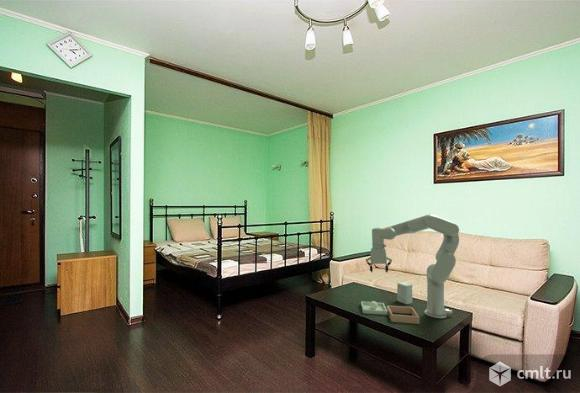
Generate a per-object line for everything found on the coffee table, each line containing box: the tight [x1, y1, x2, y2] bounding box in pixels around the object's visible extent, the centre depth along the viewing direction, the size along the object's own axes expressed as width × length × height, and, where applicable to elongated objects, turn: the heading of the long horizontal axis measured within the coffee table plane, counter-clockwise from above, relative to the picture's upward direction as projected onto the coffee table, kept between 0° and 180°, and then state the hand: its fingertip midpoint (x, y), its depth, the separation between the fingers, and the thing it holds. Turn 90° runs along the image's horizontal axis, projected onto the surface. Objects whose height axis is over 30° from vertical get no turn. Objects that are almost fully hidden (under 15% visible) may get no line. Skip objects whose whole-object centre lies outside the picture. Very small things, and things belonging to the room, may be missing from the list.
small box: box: [396, 281, 413, 305], centre depth 198 cm, size 8×6×13 cm
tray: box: [360, 300, 389, 316], centre depth 183 cm, size 15×15×2 cm
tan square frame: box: [386, 305, 420, 325], centre depth 171 cm, size 16×16×4 cm
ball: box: [369, 300, 378, 309], centre depth 183 cm, size 5×5×5 cm
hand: (379, 272), depth 187 cm, fingers open, 9 cm apart
